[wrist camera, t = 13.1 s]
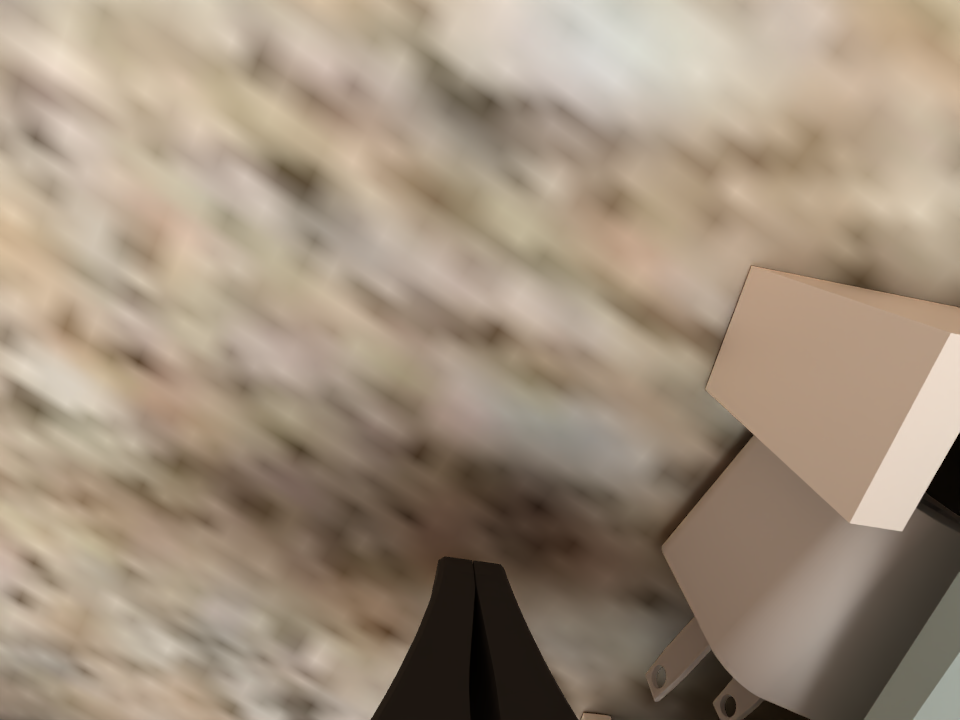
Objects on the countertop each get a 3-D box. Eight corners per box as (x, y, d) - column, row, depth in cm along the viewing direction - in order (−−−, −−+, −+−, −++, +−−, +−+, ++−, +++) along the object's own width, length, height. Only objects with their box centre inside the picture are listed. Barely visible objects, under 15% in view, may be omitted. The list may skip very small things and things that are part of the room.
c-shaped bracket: (828, 803, 17) (954, 1024, 12) (559, 775, 16) (594, 1001, 12) (1135, 342, 11) (1550, 450, 7) (751, 265, 10) (950, 332, 6)
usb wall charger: (892, 469, 12) (1078, 599, 9) (713, 656, 14) (800, 828, 11) (765, 396, 12) (907, 504, 8) (595, 605, 14) (644, 770, 10)
